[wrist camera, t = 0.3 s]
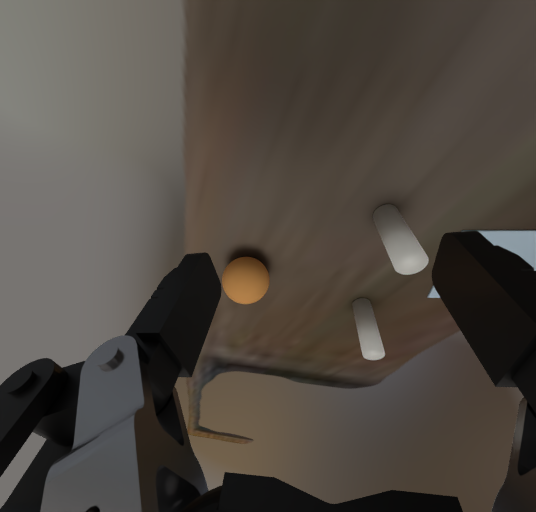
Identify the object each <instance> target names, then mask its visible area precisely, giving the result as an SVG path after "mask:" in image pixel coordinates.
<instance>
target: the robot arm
mask: <svg viewBox="0 0 536 512" xmlns="http://www.w3.org/2000/svg"><path fill="white" fill-rule="evenodd" d="M432 281H433V285H434V288H435V289H436V291H437V293H438V294H439V296H440V298H441V299H442V301H443V302H444V304H445V306H446V307H447V309H448V311H449V312H450V314H451V315H452V317H453V319H454V320H455V322H456V323H457V325H458V327H459V328H460V330H461V331H462V333H463V335H464V336H465V338H466V340H467V341H468V343H469V344H470V346H471V348H472V349H473V351H474V352H475V354H476V356H477V357H478V359H479V361H480V362H481V364H482V365H483V367H484V369H485V370H486V372H487V374H488V375H489V377H490V378H491V380H492V382H493V383H494V385H495V386H496V387H518V388H519V390H520V391H521V393H522V394H523V396H524V397H523V398H522V400H521V401H520V404H519V409H518V415H517V420H516V426H515V432H514V437H513V443H512V449H511V455H510V461H509V466H508V472H507V476H506V479H505V481H504V484H503V485H502V487H501V488H500V490H499V492H498V494H497V496H496V499H495V502H494V504H493V508H492V512H536V271H534V268H533V267H532V266H531V265H530V264H529V263H527V262H526V261H525V260H524V259H523V258H521V257H520V256H519V255H517V254H515V253H513V252H511V251H509V250H507V249H505V248H503V247H500V246H498V245H495V246H494V245H493V244H492V243H491V242H490V241H489V240H487V239H486V238H485V237H484V236H483V235H482V234H481V233H479V232H478V231H463V232H451V233H445V234H444V235H443V237H442V239H441V242H440V245H439V249H438V252H437V256H436V259H435V263H434V266H433V270H432ZM220 297H221V283H220V280H219V278H218V275H217V273H216V270H215V268H214V265H213V263H212V260H211V258H210V256H209V254H208V253H194V254H187V255H185V256H184V258H183V259H182V261H181V263H180V264H179V266H178V267H177V268H174V269H173V270H172V271H171V272H170V273H169V274H168V275H166V276H165V277H164V278H163V280H162V281H161V283H160V284H159V286H158V287H157V290H155V291H154V293H153V295H152V296H151V299H149V300H148V302H147V303H146V305H145V306H144V308H143V309H142V311H141V312H140V314H139V315H138V317H137V318H136V320H135V321H134V323H133V324H132V325H131V327H130V329H129V330H128V331H127V333H126V334H125V335H124V336H118V337H115V338H112V339H110V340H108V341H106V342H105V343H103V344H102V345H100V346H99V347H98V348H97V349H96V350H95V351H93V352H92V354H91V355H90V356H89V357H88V358H87V360H86V361H83V362H80V363H76V364H73V365H70V366H67V367H63V368H61V367H60V366H59V365H58V364H56V363H55V362H54V361H52V360H51V359H48V358H44V359H39V360H36V361H33V362H31V363H29V364H27V365H25V366H24V367H22V368H20V369H19V370H17V371H16V372H15V373H13V374H12V375H11V376H10V377H9V378H7V379H6V380H5V381H4V382H3V383H2V384H1V385H0V477H1V475H2V474H3V473H4V471H5V470H6V468H7V467H8V466H9V464H10V463H11V461H12V460H13V458H14V457H15V456H16V454H17V453H18V451H19V450H20V449H21V447H22V446H23V444H24V443H25V442H26V440H27V439H28V437H29V436H30V434H31V433H32V432H34V433H36V434H38V435H40V436H42V437H44V438H46V439H47V440H46V441H45V443H44V445H43V446H42V448H41V449H40V451H39V452H38V454H37V455H36V457H35V458H34V460H33V461H32V463H31V464H30V466H29V468H28V469H27V471H26V472H25V474H24V475H23V477H22V478H21V480H20V481H19V483H18V484H17V486H16V487H15V489H14V490H13V492H12V494H11V495H10V496H9V498H8V500H7V501H6V502H5V504H4V505H3V506H2V508H1V509H0V512H463V511H462V508H461V506H460V503H459V500H458V498H457V497H452V496H443V495H433V494H424V493H415V492H406V491H396V490H390V491H386V492H382V493H379V494H375V495H371V496H367V497H363V498H359V499H355V500H351V501H347V502H343V503H339V504H329V503H327V502H324V501H322V500H320V499H318V498H316V497H314V496H312V495H310V494H308V493H306V492H303V491H301V490H299V489H297V488H295V487H293V486H291V485H289V484H287V483H285V482H282V481H281V480H279V479H277V478H274V477H264V476H256V475H246V474H237V473H227V472H225V474H224V479H223V485H222V486H219V487H217V488H215V489H212V490H210V491H208V488H207V483H206V480H205V477H204V474H203V471H202V469H201V466H200V464H199V462H198V460H197V458H196V456H195V455H194V452H193V450H192V447H191V444H190V440H189V437H188V432H187V428H186V424H185V421H184V417H183V413H182V409H181V405H180V401H179V397H178V393H177V391H176V388H175V387H174V386H175V383H176V381H177V378H178V377H192V374H193V371H194V369H195V366H196V363H197V360H198V358H199V355H200V352H201V349H202V347H203V344H204V341H205V338H206V336H207V333H208V330H209V327H210V325H211V322H212V319H213V316H214V314H215V311H216V308H217V305H218V303H219V300H220Z"/></svg>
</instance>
